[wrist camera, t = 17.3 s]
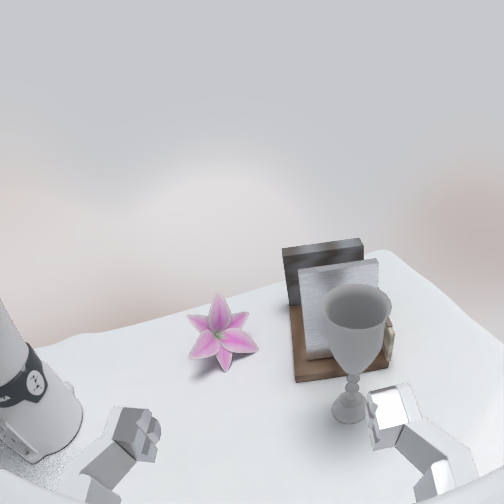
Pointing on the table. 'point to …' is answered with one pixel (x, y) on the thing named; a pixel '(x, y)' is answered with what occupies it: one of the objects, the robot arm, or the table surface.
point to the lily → (220, 333)
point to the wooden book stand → (292, 262)
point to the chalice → (354, 339)
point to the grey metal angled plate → (317, 286)
